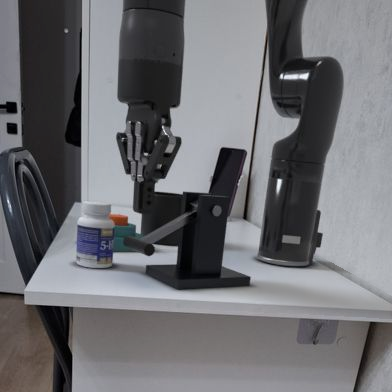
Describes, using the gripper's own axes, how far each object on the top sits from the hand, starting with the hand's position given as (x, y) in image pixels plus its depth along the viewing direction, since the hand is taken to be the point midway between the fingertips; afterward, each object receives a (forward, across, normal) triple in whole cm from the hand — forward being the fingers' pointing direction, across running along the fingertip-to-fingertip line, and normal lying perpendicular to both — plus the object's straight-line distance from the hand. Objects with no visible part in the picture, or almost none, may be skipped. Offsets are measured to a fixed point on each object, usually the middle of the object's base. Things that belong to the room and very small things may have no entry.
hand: (142, 212), depth 69 cm
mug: (+10, +32, -22) cm, 40 cm away
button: (+6, +25, -8) cm, 27 cm away
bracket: (+9, 0, -9) cm, 13 cm away
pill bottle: (+9, +11, +2) cm, 15 cm away
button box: (+9, +25, -8) cm, 28 cm away
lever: (+3, 0, -5) cm, 6 cm away
